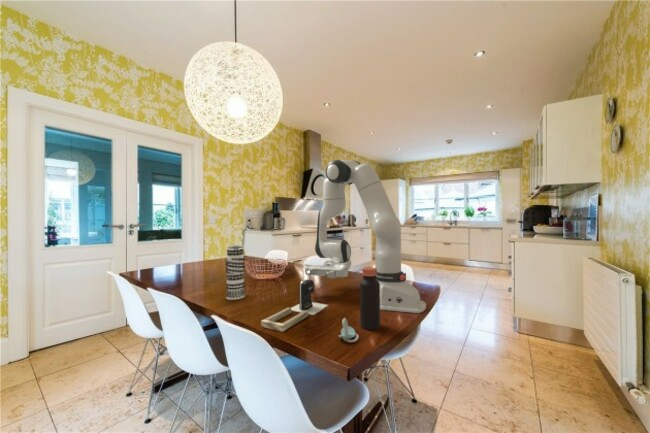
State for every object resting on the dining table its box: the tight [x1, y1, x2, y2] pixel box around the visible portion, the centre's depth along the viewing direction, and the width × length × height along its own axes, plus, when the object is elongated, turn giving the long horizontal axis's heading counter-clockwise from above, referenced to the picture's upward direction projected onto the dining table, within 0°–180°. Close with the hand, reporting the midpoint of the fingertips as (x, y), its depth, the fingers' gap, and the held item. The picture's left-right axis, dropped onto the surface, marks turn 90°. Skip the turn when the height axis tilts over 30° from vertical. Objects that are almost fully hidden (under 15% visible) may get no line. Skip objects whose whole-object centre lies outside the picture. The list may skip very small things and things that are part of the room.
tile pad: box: [290, 301, 329, 316], centre depth 109 cm, size 12×12×1 cm
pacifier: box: [338, 317, 359, 343], centre depth 81 cm, size 7×6×6 cm
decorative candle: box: [225, 244, 246, 301], centre depth 126 cm, size 9×9×25 cm
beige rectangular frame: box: [260, 307, 309, 333], centre depth 95 cm, size 9×16×2 cm, turn 151°
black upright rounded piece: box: [298, 278, 315, 310], centre depth 108 cm, size 7×4×11 cm, turn 152°
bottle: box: [359, 266, 381, 331], centre depth 90 cm, size 7×7×20 cm
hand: (317, 274), depth 114 cm, fingers open, 8 cm apart
